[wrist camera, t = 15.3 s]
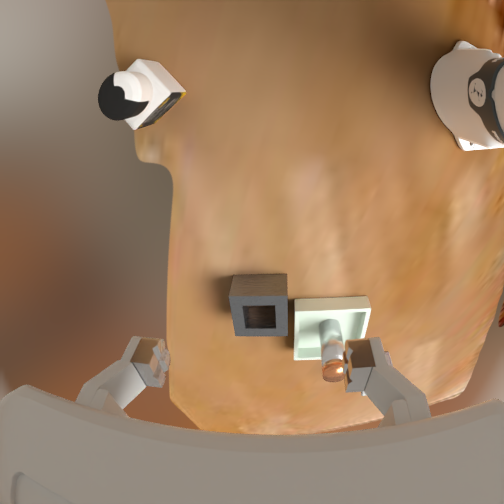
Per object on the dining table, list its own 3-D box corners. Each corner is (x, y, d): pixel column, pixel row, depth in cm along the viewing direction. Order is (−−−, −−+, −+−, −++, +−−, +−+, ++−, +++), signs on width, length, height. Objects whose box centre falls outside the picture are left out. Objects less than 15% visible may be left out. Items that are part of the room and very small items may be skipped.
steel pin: (341, 318, 54) (350, 366, 44) (338, 333, 56) (346, 381, 46) (319, 319, 55) (324, 368, 45) (317, 334, 57) (321, 382, 47)
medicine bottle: (154, 124, 39) (115, 138, 29) (126, 93, 37) (81, 99, 27) (188, 92, 37) (155, 94, 26) (158, 61, 34) (118, 54, 24)
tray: (367, 295, 52) (371, 308, 49) (356, 344, 59) (359, 356, 56) (294, 298, 54) (295, 311, 51) (293, 347, 61) (293, 360, 58)
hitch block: (287, 273, 51) (287, 295, 46) (287, 313, 56) (287, 336, 51) (233, 274, 52) (228, 296, 47) (239, 313, 57) (235, 335, 52)
